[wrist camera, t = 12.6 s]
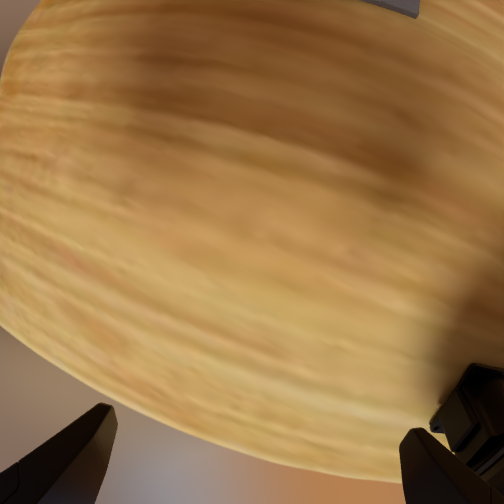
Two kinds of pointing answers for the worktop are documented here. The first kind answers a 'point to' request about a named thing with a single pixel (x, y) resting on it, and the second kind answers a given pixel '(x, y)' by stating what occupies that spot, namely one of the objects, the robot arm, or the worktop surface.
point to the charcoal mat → (399, 6)
